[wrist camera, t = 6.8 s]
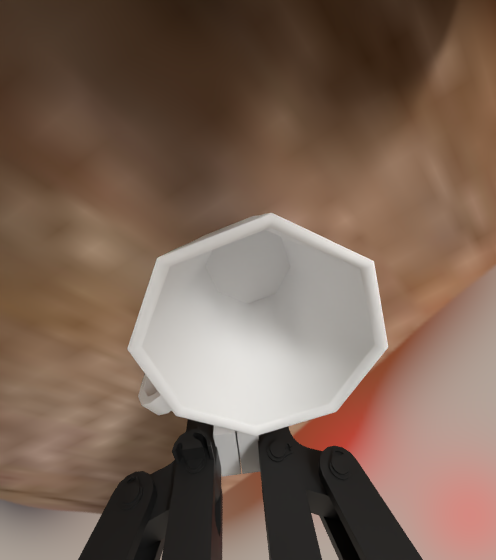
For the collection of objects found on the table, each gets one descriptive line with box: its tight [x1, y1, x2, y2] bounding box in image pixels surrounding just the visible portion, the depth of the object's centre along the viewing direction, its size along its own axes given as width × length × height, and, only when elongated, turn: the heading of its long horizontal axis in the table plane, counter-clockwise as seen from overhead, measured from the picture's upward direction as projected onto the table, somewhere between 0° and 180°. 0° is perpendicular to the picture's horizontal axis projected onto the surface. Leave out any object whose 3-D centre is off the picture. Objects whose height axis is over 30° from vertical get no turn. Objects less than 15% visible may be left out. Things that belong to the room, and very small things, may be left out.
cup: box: [128, 213, 388, 436], centre depth 10 cm, size 7×10×8 cm
